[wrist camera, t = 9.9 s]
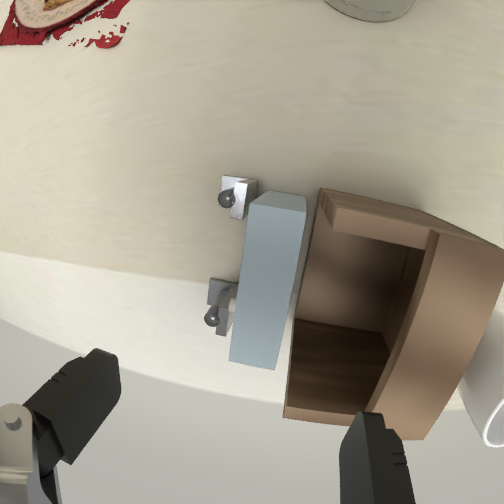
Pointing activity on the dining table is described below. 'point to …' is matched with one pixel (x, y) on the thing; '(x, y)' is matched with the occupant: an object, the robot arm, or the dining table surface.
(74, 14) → the plate with food
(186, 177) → the dining table surface
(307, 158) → the dining table surface
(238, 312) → the door
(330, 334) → the cabinet
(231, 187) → the hinge clips
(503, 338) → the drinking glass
